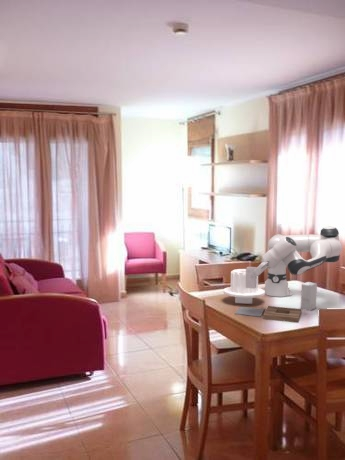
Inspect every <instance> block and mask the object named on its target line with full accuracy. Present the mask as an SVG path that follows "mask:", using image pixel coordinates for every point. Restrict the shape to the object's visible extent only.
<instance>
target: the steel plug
mask: <svg viewBox="0 0 345 460" xmlns="http://www.w3.org/2000/svg"><path fill="white" fill-rule="evenodd" d="M257 267H258V266H257ZM257 267H256V266H247V267H245V269H246V288H256V276H255V277H254V278H252V279H251V278H250V276H251V275H252V274H253V271H254V270H255V269H256V268H257Z"/></svg>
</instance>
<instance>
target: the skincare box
mask: <svg viewBox="0 0 345 460" xmlns="http://www.w3.org/2000/svg"><path fill="white" fill-rule="evenodd" d="M317 294H318V283H316V282H311V281H307V282H304V283H302V284H301V293H300V309H301V310H305V311H310V312H311V311H312V310H314V309H316V308H317V297H318V296H317Z"/></svg>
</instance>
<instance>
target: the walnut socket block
mask: <svg viewBox="0 0 345 460" xmlns="http://www.w3.org/2000/svg"><path fill="white" fill-rule="evenodd" d="M262 315H263V316H262V319H263V320H270V321H280V322H289V323H297V324H299V321H300V319H301V315H302V309H301V308H296V307H294V308H293V307H283V306H272V305H268V306H267V307H266V309H265V310H264V312H263V314H262Z"/></svg>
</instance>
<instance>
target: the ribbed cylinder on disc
mask: <svg viewBox="0 0 345 460" xmlns="http://www.w3.org/2000/svg"><path fill="white" fill-rule="evenodd" d="M264 290H265V289H262V288H261V287H259V276H256V288H246V268H237V269H232V270H231V271H230V286H227V287H224V289H223V294H225V295H226V296H230V297H234V300H235V301H234V302H235V304H245V305H246V304H247V305H253V298H259V297H263V296H265V295H266V294H265V291H264Z"/></svg>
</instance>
